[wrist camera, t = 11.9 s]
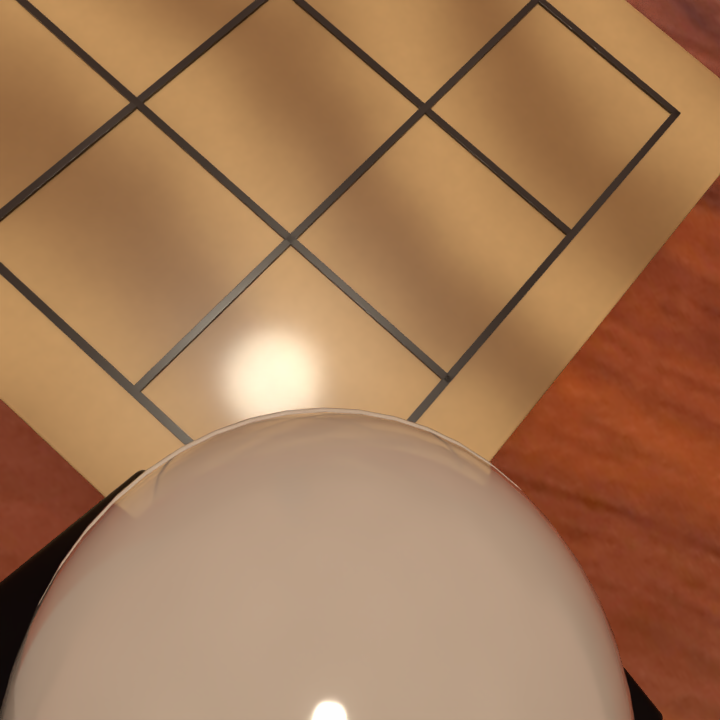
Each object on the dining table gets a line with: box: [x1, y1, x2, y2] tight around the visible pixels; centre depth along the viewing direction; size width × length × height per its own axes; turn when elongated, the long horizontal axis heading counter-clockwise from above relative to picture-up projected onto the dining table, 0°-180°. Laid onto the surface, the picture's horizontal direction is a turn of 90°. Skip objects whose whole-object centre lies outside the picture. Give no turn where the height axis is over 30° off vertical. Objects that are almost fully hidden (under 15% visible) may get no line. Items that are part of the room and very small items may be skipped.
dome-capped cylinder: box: [0, 408, 635, 720], centre depth 9 cm, size 5×5×13 cm
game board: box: [0, 0, 720, 497], centre depth 19 cm, size 24×24×1 cm
